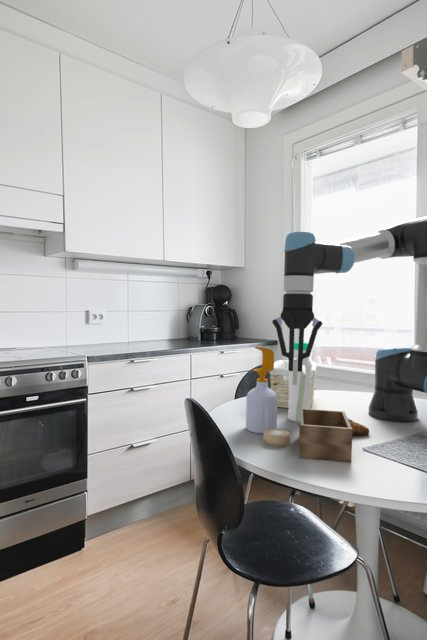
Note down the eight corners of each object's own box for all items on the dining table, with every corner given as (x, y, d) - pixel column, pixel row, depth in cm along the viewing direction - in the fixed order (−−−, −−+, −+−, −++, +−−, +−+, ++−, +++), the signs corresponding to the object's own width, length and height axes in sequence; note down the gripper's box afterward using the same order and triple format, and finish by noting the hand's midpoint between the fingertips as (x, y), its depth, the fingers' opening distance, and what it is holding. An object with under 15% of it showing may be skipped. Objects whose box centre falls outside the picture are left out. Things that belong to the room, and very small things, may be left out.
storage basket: (276, 394, 167) (276, 358, 166) (316, 397, 162) (317, 360, 162) (267, 408, 144) (268, 367, 143) (314, 412, 139) (315, 370, 139)
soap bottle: (239, 428, 119) (241, 346, 118) (259, 422, 126) (260, 344, 125) (263, 436, 113) (265, 349, 112) (282, 429, 119) (284, 347, 118)
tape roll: (290, 439, 111) (290, 430, 111) (289, 447, 104) (289, 438, 104) (264, 436, 112) (264, 428, 112) (262, 445, 106) (262, 435, 106)
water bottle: (310, 423, 125) (312, 343, 124) (287, 421, 127) (289, 343, 126) (309, 417, 132) (311, 341, 131) (288, 415, 134) (289, 341, 133)
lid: (305, 365, 112) (301, 364, 112) (306, 374, 96) (302, 374, 97) (300, 409, 112) (296, 408, 113) (300, 425, 97) (296, 425, 97)
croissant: (322, 436, 114) (322, 419, 114) (319, 429, 121) (320, 412, 120) (372, 439, 112) (372, 422, 112) (366, 432, 119) (367, 415, 118)
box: (343, 440, 111) (344, 411, 110) (351, 462, 95) (352, 429, 95) (299, 436, 113) (299, 408, 113) (299, 457, 97) (300, 425, 97)
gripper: (322, 294, 106) (319, 382, 107) (274, 293, 109) (271, 379, 110) (324, 293, 99) (320, 388, 100) (272, 292, 101) (269, 384, 103)
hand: (294, 383), depth 105 cm, fingers closed
